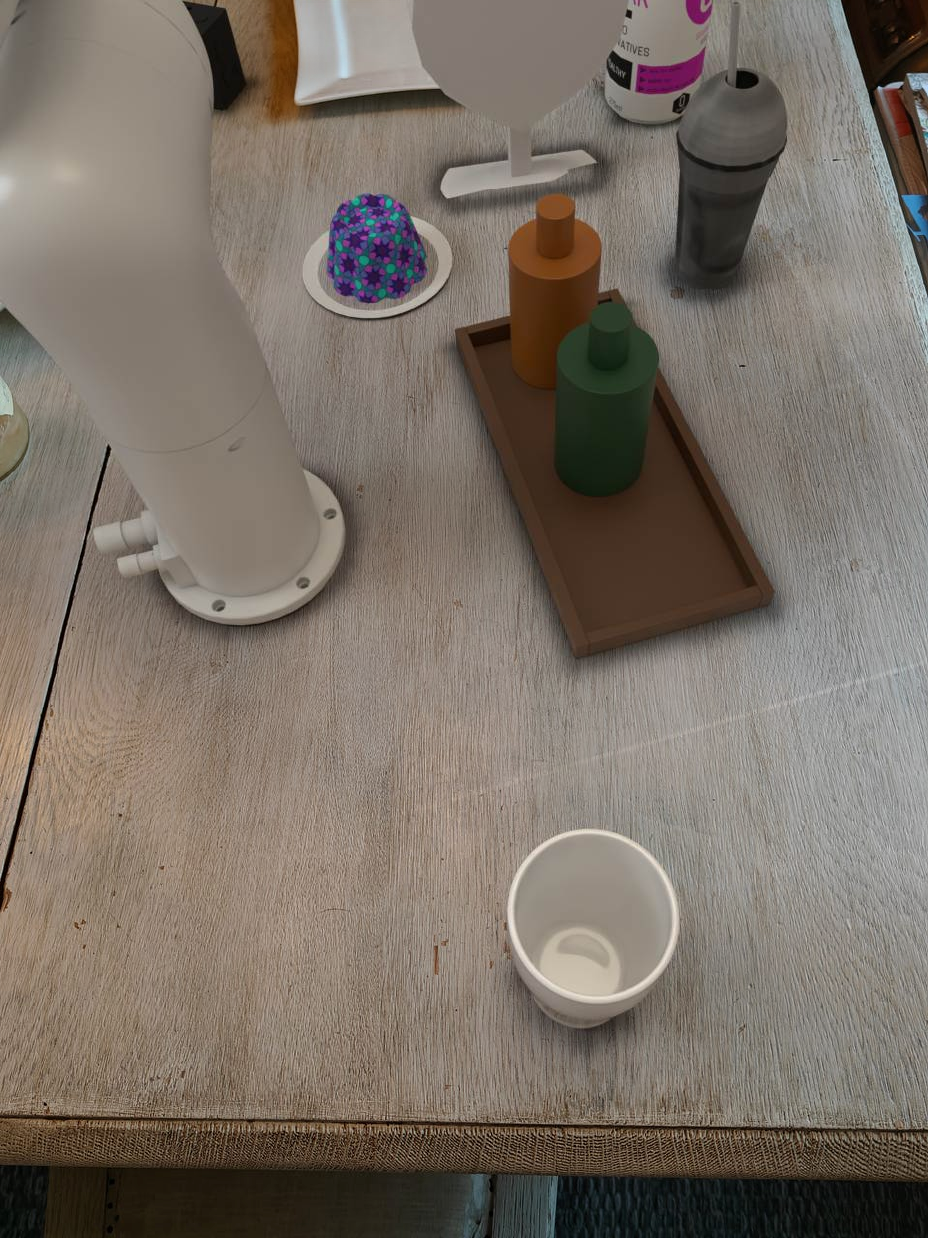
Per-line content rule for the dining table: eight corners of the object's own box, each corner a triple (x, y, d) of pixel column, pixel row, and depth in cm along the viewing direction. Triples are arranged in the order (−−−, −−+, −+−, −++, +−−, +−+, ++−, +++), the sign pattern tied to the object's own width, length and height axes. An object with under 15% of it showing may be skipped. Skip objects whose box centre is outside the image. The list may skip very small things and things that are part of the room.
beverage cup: (750, 311, 72) (818, 42, 54) (652, 302, 73) (688, 35, 55) (755, 245, 75) (822, -29, 58) (662, 237, 76) (699, -33, 59)
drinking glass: (635, 905, 51) (669, 820, 38) (652, 1043, 48) (695, 1002, 35) (509, 911, 52) (500, 829, 38) (517, 1048, 48) (509, 1010, 35)
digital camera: (254, 76, 91) (234, -1, 84) (226, 110, 88) (203, 33, 82) (161, 58, 93) (135, -18, 87) (132, 91, 91) (103, 15, 85)
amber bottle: (525, 398, 68) (523, 248, 57) (501, 340, 71) (494, 187, 60) (605, 377, 69) (618, 225, 57) (578, 320, 72) (585, 165, 60)
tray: (575, 662, 58) (576, 647, 57) (456, 348, 72) (454, 328, 70) (768, 608, 59) (775, 591, 58) (615, 308, 73) (617, 287, 71)
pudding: (476, 295, 74) (472, 239, 70) (330, 344, 73) (316, 290, 68) (422, 204, 80) (415, 146, 76) (286, 247, 79) (270, 191, 74)
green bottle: (570, 507, 64) (577, 367, 52) (542, 439, 66) (544, 293, 55) (655, 484, 64) (681, 340, 53) (624, 418, 67) (642, 268, 56)
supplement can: (713, 86, 85) (745, -107, 72) (671, 139, 82) (697, -53, 69) (631, 63, 88) (648, -128, 75) (588, 113, 85) (597, -77, 71)
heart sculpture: (604, 146, 82) (620, -92, 66) (616, 183, 80) (636, -54, 64) (426, 171, 82) (400, -60, 66) (432, 209, 80) (407, -22, 64)
